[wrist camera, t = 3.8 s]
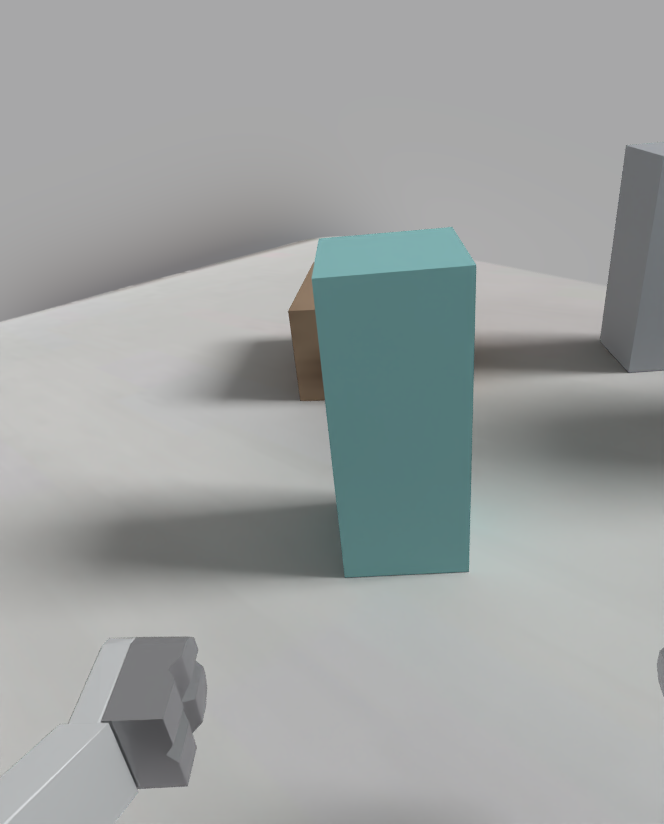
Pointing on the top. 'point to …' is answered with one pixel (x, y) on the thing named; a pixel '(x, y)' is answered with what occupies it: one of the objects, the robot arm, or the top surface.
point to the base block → (306, 343)
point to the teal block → (399, 396)
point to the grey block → (638, 264)
